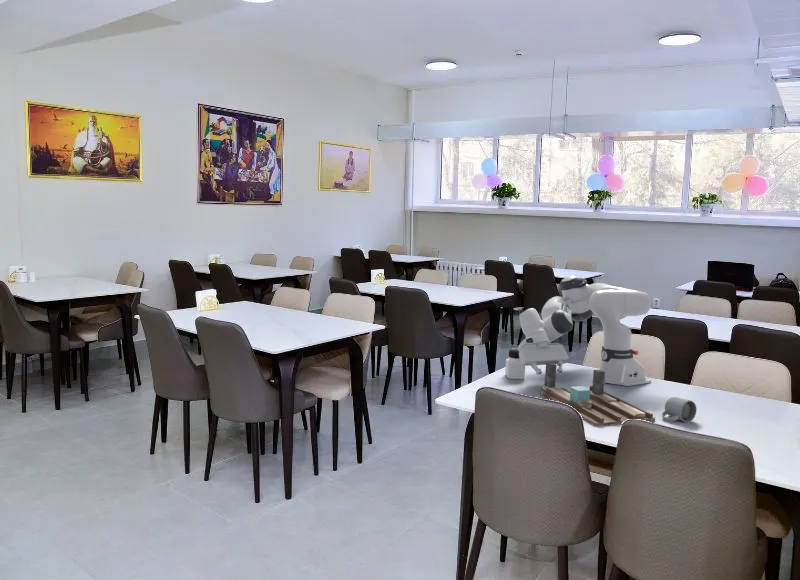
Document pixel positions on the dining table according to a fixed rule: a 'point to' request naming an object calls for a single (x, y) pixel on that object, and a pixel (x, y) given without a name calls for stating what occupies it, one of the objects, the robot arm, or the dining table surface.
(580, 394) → the teal cube
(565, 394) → the right strip
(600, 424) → the lane board
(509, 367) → the medicine bottle
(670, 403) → the ceramic mug
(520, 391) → the dining table surface
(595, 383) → the left strip stub
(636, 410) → the left strip far piece
